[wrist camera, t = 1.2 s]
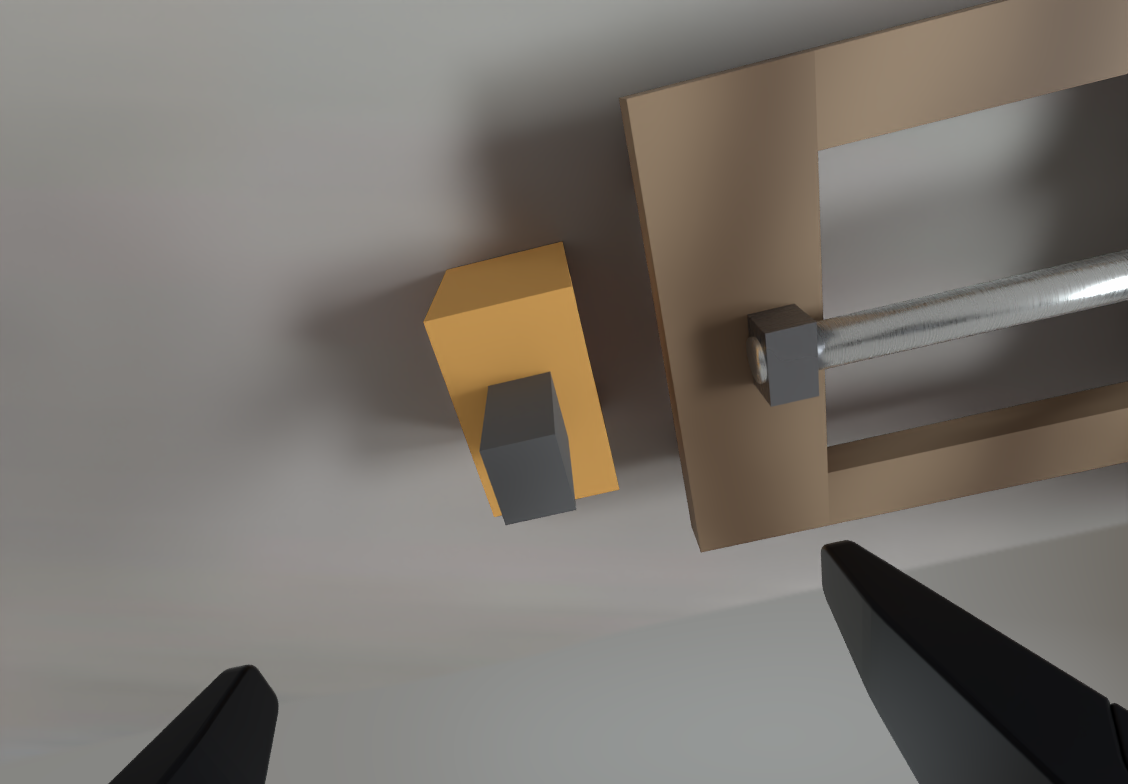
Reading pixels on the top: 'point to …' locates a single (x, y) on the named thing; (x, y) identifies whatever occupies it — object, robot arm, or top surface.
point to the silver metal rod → (919, 322)
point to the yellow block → (522, 382)
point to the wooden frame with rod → (793, 263)
